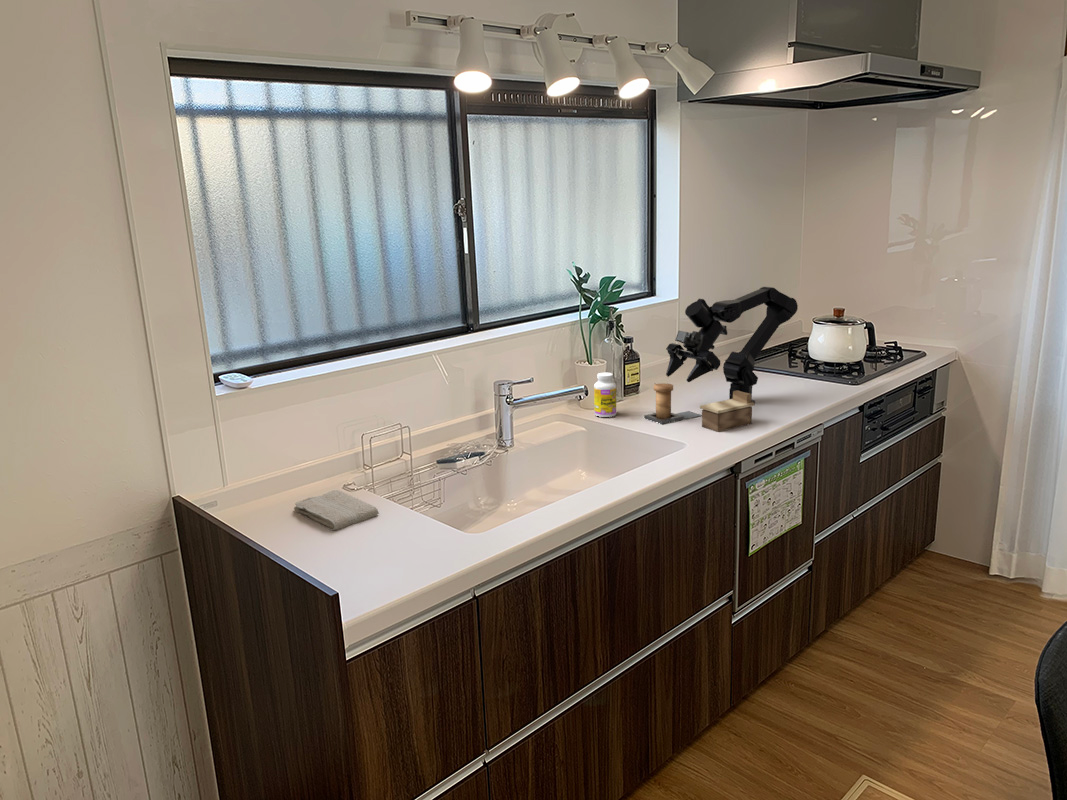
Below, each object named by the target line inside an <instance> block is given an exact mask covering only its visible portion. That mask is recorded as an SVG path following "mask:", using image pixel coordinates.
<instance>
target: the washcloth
mask: <svg viewBox="0 0 1067 800" xmlns="http://www.w3.org/2000/svg"><path fill="white" fill-rule="evenodd" d="M294 505H295V506H294V507H293V510H294V511H295V512H297V514H299V515H300V516H301V517H303V518H305V519H308V520H309V521H311V522H313V523H316V524H317V525H320V526H322V527H324V528H325V529H328V530H330V531H338V530H341V529H344V528H346V527H349V526H351V525H354V524H356V523H361V522H363V521H366V520H368V519H371V518H374V517H377V516H378V515H379V514H380V513H379V510H378V508H377V507H376V506H374V505H372V504H370V503H367V502H365V501H363V500H361V499H359V498H356V497H355V496H353V495H349V494H347V493H345V492H343V491H341V490H339V489H334V490H331V491H328V492H326V493H323V494H322V495H317V496H311V497H307V498H305V499H303V500H299V501H297V502H296V503H295V504H294Z"/></svg>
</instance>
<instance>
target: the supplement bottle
mask: <svg viewBox="0 0 1067 800" xmlns="http://www.w3.org/2000/svg"><path fill="white" fill-rule="evenodd" d="M596 377H597V381H596V382H595V383H594V384H593V390H594V391H593V398H594V399H593V403H594V404H593V407H594V412H593V413H594V415H596V417H597V416H599V417H598V418H601V417H609V418H613V417H615V416H616V415H617V384H616V383H615V381H613V379H614V375H613V372H606V371H605V372H598V373H597V375H596ZM612 416H613V417H612Z"/></svg>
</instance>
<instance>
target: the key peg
mask: <svg viewBox="0 0 1067 800" xmlns="http://www.w3.org/2000/svg"><path fill="white" fill-rule="evenodd" d="M653 391H655V413H656V417H657V418H660V419H666V418H671V413H672V391H674V384H671V383H664V382H663V383H655V384H654V385H653Z"/></svg>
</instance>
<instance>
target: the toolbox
mask: <svg viewBox="0 0 1067 800" xmlns="http://www.w3.org/2000/svg"><path fill="white" fill-rule="evenodd" d="M701 415H702V416H701V427H702V428H705V429H708V430H710V431H713V432H716V433H718V432H723V431H727V430H733V429H735V428H739V427H744V426H748V424H749V425H751V424H753V406H750V407H746V408H741V409H737V410H732V411H728V412H723V413H719V414H717V413H714V412H710V411H707V410H704V409H701Z"/></svg>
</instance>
